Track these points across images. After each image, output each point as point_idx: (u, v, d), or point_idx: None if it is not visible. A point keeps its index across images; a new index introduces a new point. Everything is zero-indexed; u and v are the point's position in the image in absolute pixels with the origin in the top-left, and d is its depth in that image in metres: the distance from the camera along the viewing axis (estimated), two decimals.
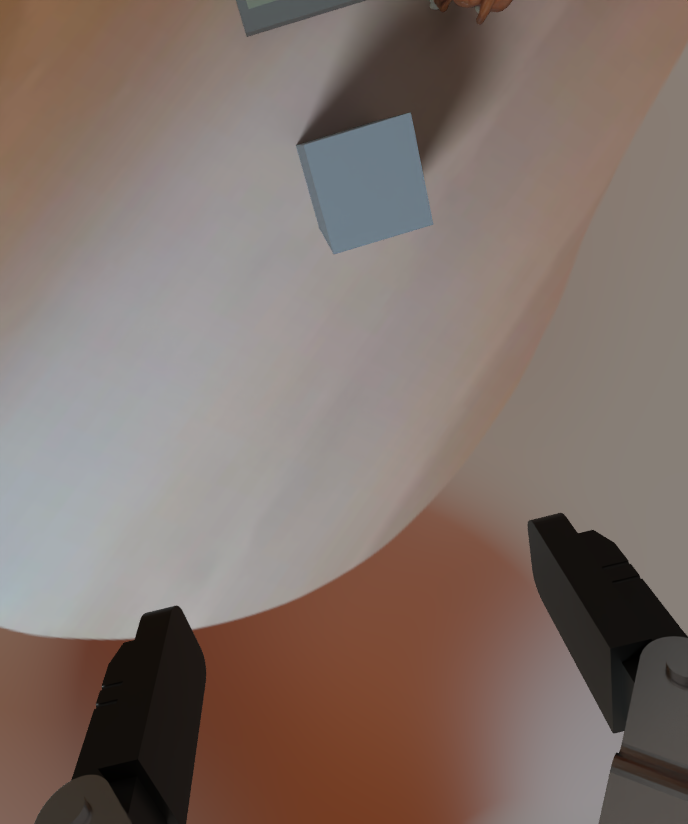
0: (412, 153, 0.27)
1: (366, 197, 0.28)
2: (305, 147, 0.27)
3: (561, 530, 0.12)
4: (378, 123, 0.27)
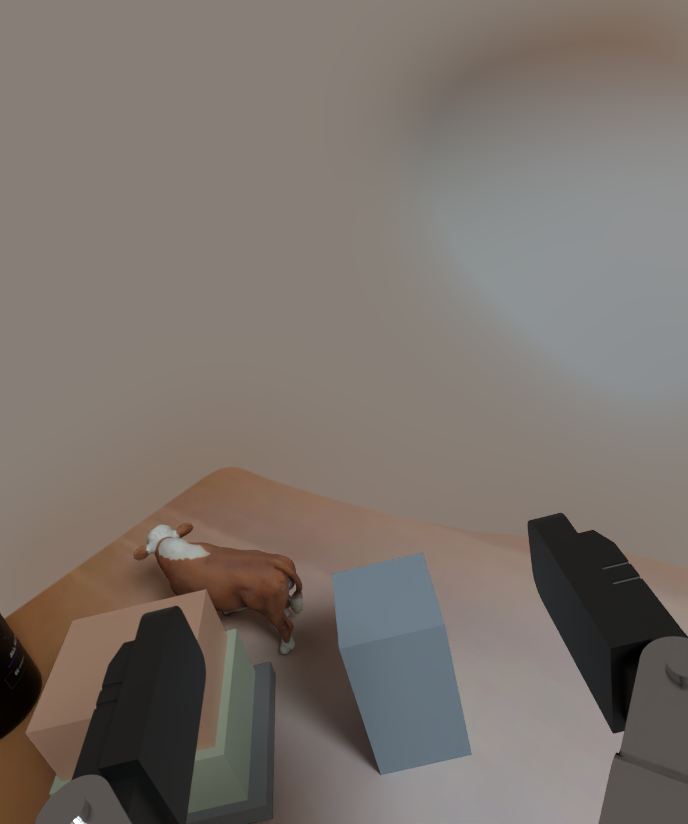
0: (362, 570, 0.31)
1: (393, 600, 0.29)
2: (341, 647, 0.27)
3: (561, 530, 0.12)
4: (334, 594, 0.30)
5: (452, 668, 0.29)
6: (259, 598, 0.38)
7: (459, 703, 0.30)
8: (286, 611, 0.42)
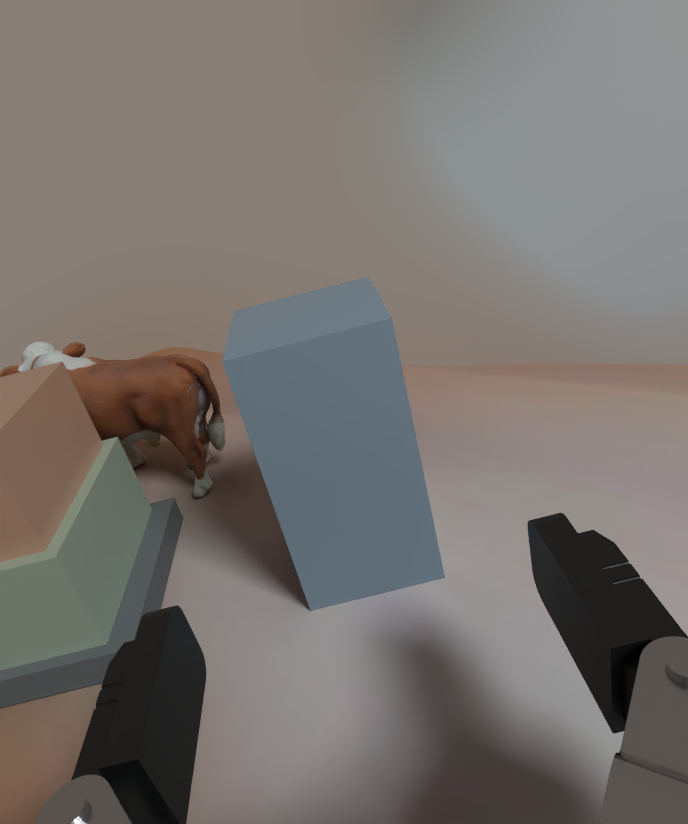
0: (278, 301, 0.21)
1: (316, 313, 0.19)
2: (226, 360, 0.17)
3: (561, 530, 0.12)
4: (232, 323, 0.20)
5: (408, 410, 0.18)
6: (156, 406, 0.28)
7: (422, 480, 0.19)
8: None
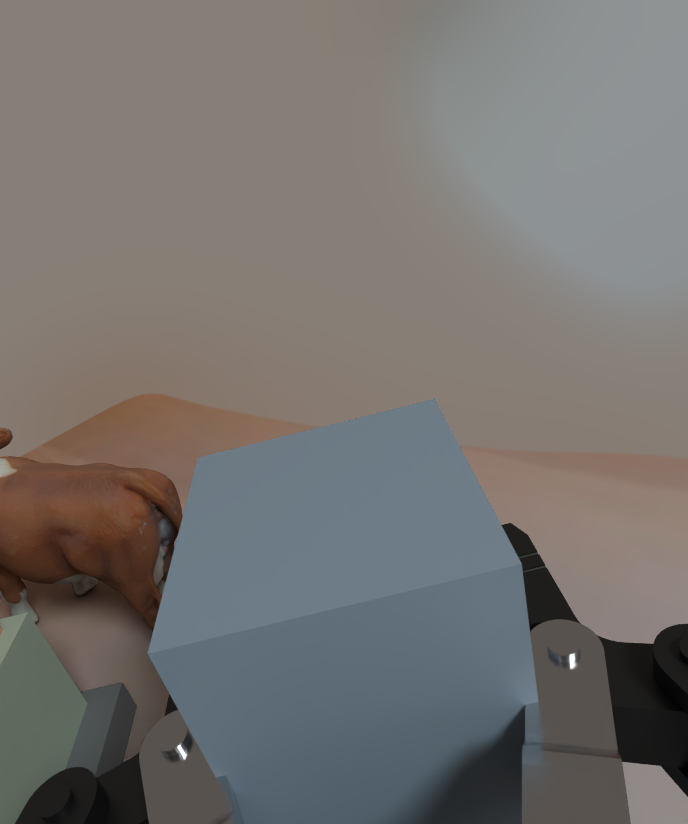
0: (275, 445, 0.12)
1: (349, 504, 0.10)
2: (158, 649, 0.08)
3: None
4: (189, 499, 0.11)
5: None
6: (93, 551, 0.18)
7: None
8: None
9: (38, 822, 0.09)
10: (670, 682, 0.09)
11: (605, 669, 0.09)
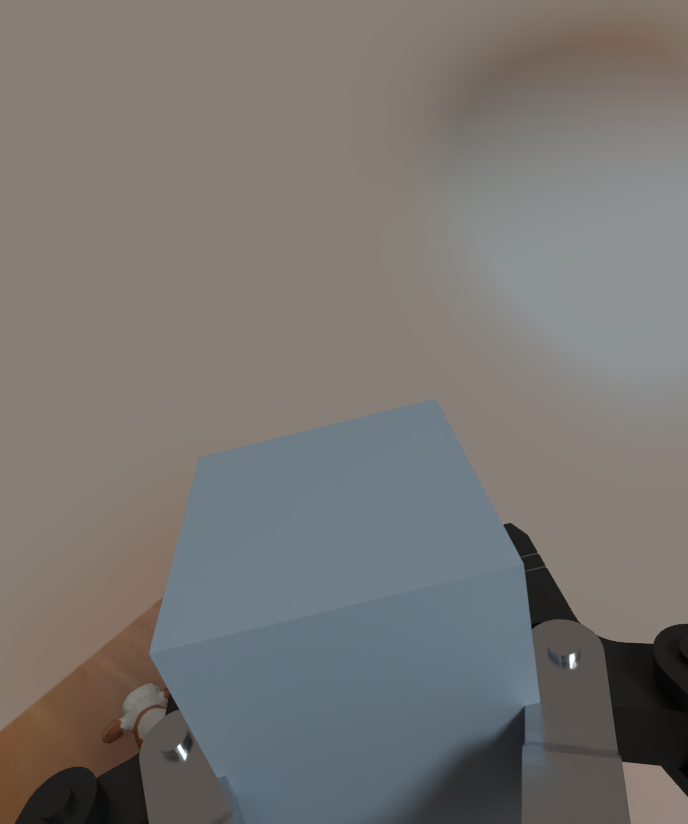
0: (276, 444, 0.12)
1: (350, 504, 0.10)
2: (159, 649, 0.08)
3: None
4: (190, 499, 0.11)
5: None
6: None
7: None
8: None
9: (38, 822, 0.09)
10: (670, 682, 0.09)
11: (605, 669, 0.09)
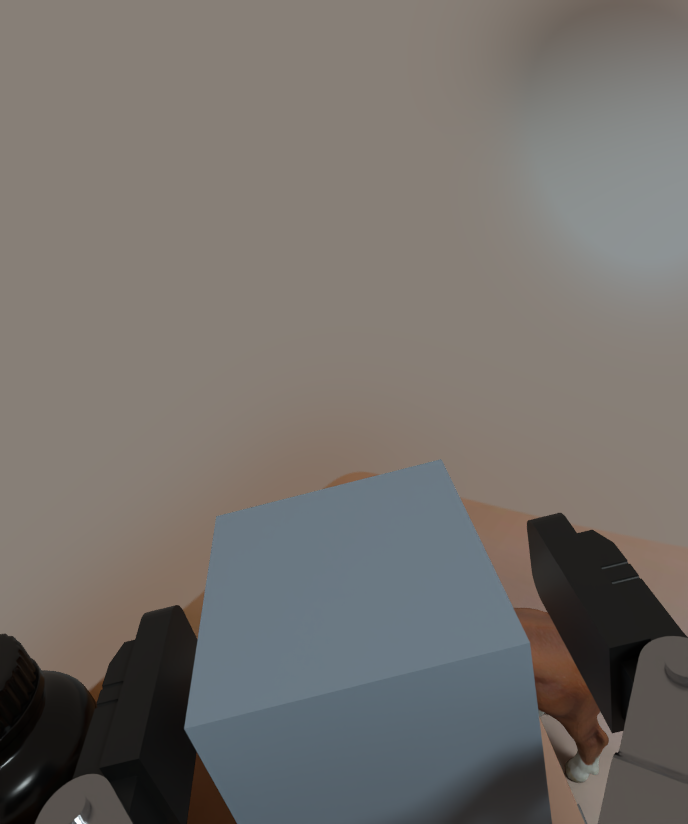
0: (291, 505, 0.12)
1: (365, 573, 0.10)
2: (193, 724, 0.08)
3: (560, 530, 0.12)
4: (211, 562, 0.11)
5: (541, 771, 0.10)
6: (568, 698, 0.22)
7: None
8: None
9: None
10: None
11: None
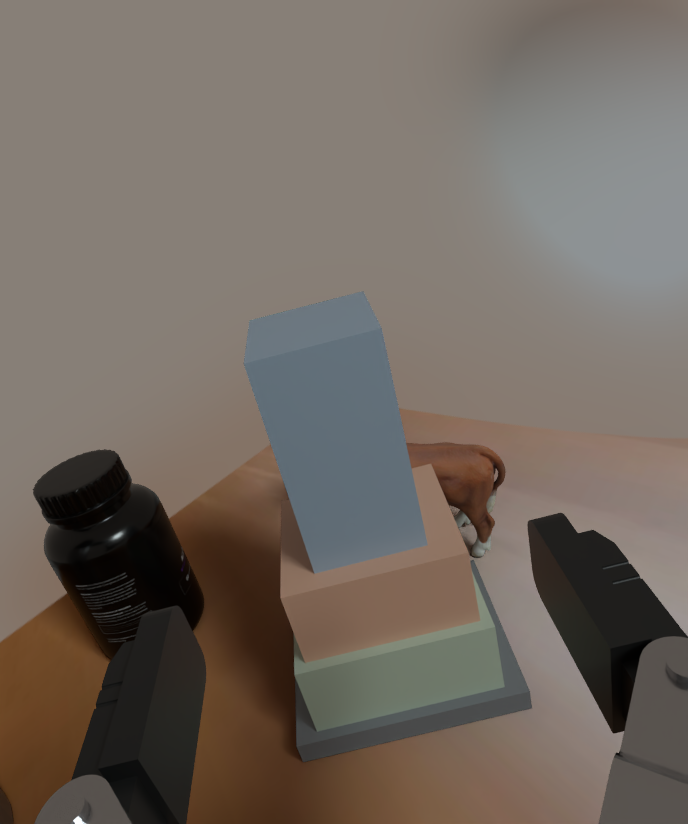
0: (287, 312, 0.25)
1: (320, 323, 0.23)
2: (247, 362, 0.21)
3: (561, 530, 0.12)
4: (249, 331, 0.24)
5: (395, 403, 0.22)
6: (464, 488, 0.34)
7: (408, 462, 0.23)
8: None
9: None
10: None
11: None
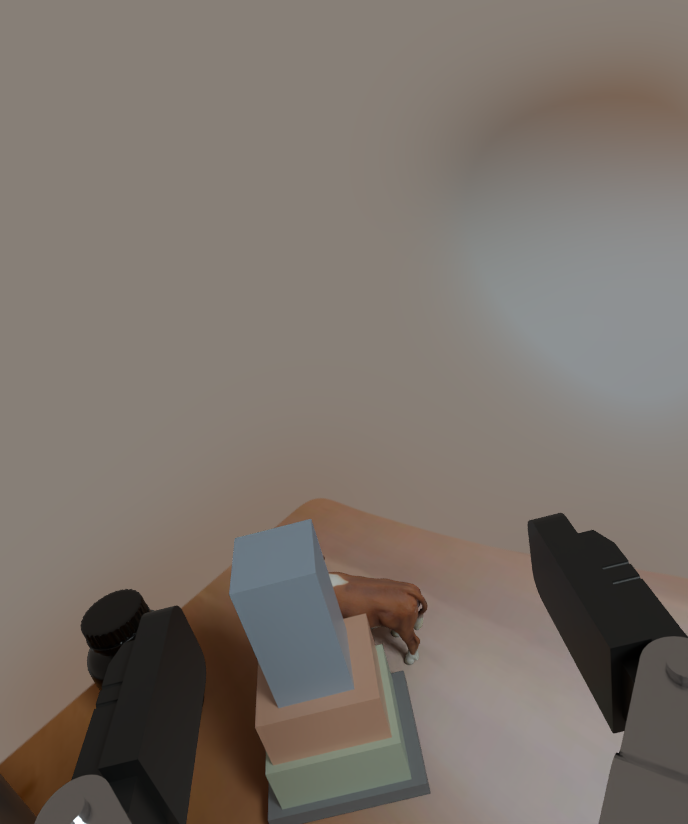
0: (260, 534, 0.37)
1: (279, 556, 0.35)
2: (231, 593, 0.33)
3: (561, 530, 0.12)
4: (234, 553, 0.36)
5: (327, 611, 0.35)
6: (396, 619, 0.47)
7: (337, 642, 0.36)
8: None
9: None
10: None
11: None
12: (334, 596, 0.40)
